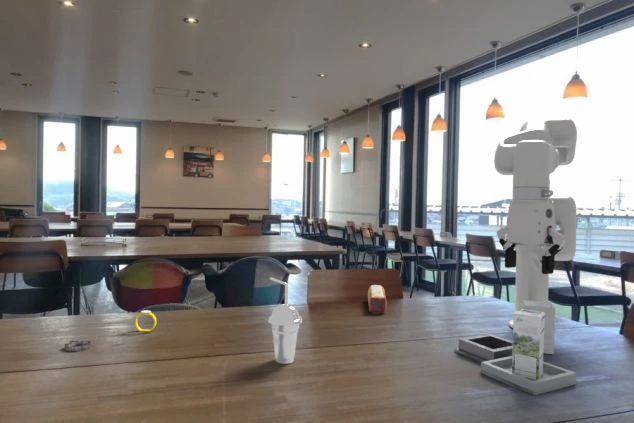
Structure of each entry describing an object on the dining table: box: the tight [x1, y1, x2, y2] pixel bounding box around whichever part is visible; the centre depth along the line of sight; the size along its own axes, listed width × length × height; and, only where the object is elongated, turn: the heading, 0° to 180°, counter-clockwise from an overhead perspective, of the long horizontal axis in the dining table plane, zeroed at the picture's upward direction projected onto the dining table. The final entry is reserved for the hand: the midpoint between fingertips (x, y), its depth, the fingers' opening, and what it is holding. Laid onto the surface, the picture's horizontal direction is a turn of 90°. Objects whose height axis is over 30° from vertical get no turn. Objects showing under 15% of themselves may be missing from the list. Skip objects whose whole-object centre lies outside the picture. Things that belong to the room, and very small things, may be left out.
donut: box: [64, 340, 92, 353], centre depth 120 cm, size 8×8×2 cm
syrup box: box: [512, 309, 545, 380], centre depth 104 cm, size 6×6×14 cm
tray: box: [480, 356, 577, 397], centre depth 105 cm, size 14×14×2 cm
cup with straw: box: [267, 276, 304, 365], centre depth 113 cm, size 8×9×20 cm
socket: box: [453, 333, 513, 363], centre depth 120 cm, size 13×13×4 cm
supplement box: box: [523, 300, 556, 355], centre depth 126 cm, size 7×7×13 cm
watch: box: [134, 309, 158, 333], centre depth 136 cm, size 6×3×6 cm, turn 93°
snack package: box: [367, 284, 388, 314], centre depth 173 cm, size 21×7×7 cm, turn 174°
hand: (528, 270), depth 106 cm, fingers open, 9 cm apart
